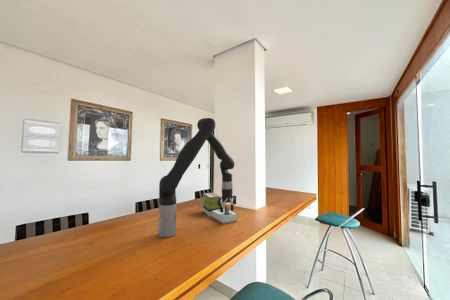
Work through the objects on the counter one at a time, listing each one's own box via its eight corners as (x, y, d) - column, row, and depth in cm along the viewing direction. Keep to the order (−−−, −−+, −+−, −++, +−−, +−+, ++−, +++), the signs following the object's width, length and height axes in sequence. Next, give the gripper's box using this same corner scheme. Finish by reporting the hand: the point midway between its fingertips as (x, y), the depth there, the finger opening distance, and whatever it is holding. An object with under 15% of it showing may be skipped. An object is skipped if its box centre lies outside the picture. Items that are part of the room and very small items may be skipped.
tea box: (202, 211, 152) (202, 193, 152) (213, 210, 156) (213, 192, 156) (208, 216, 138) (208, 196, 139) (221, 215, 142) (221, 195, 143)
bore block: (223, 224, 122) (223, 216, 122) (212, 217, 136) (212, 210, 136) (236, 221, 128) (236, 214, 128) (224, 215, 142) (224, 208, 142)
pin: (225, 220, 126) (225, 207, 127) (223, 219, 129) (223, 206, 129) (229, 219, 128) (229, 206, 128) (227, 218, 130) (227, 205, 131)
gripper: (220, 189, 123) (220, 214, 122) (238, 187, 130) (238, 211, 129) (215, 187, 129) (215, 211, 128) (232, 186, 136) (232, 208, 136)
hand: (227, 211), depth 129 cm, fingers open, 7 cm apart
